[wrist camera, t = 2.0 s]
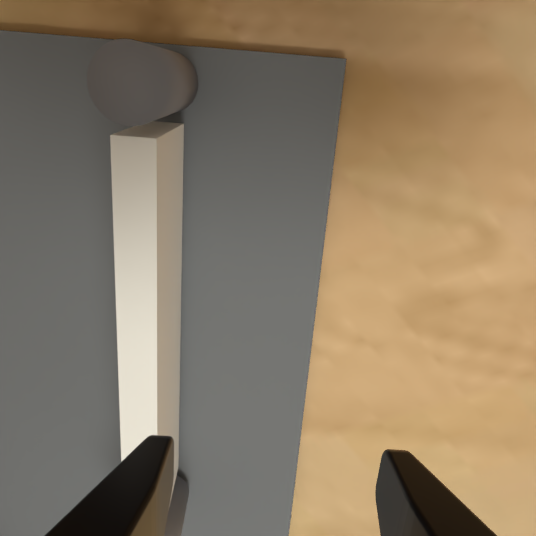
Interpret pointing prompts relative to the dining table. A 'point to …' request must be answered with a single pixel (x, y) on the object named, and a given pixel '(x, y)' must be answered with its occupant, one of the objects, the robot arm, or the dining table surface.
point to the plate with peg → (192, 278)
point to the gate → (149, 289)
